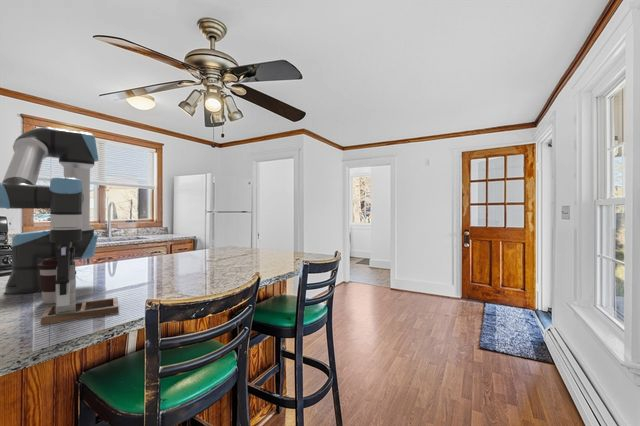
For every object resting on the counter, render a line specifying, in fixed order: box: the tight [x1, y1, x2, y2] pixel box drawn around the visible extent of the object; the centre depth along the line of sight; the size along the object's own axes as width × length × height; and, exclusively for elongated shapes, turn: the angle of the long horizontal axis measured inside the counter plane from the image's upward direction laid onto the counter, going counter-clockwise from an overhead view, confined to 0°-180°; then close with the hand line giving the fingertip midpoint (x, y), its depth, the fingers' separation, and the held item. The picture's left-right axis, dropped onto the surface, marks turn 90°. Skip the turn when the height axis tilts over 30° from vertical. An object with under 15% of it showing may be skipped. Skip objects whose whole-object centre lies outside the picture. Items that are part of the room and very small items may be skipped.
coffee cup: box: [37, 257, 76, 305], centre depth 105 cm, size 10×10×15 cm
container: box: [55, 264, 77, 315], centre depth 91 cm, size 5×5×15 cm
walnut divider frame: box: [40, 296, 119, 326], centre depth 94 cm, size 12×18×2 cm, turn 125°
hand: (65, 300), depth 91 cm, fingers open, 11 cm apart
